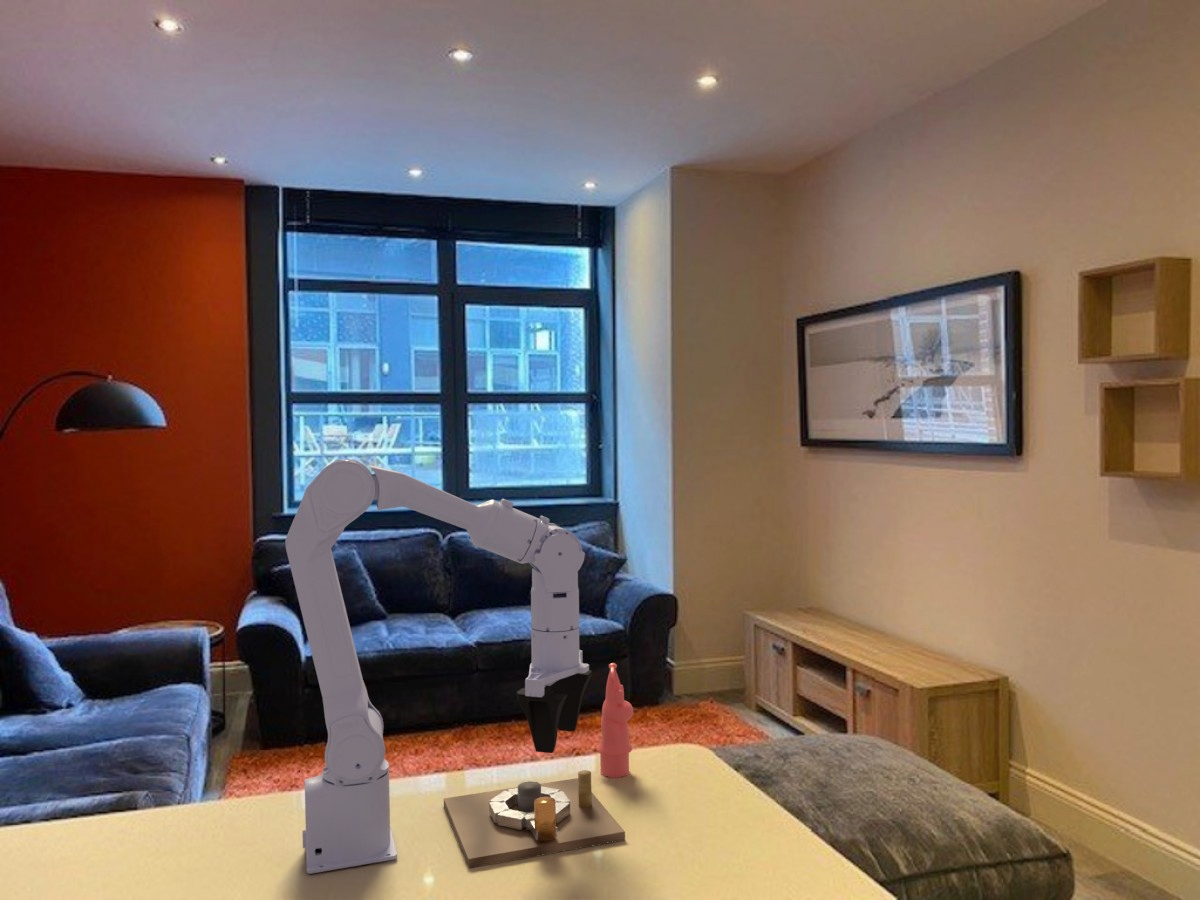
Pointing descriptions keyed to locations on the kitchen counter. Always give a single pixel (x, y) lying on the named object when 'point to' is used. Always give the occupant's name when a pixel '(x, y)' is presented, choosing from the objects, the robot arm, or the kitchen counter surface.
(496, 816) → the white segmented ring
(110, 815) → the kitchen counter surface
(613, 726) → the figurine
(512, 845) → the peg base
